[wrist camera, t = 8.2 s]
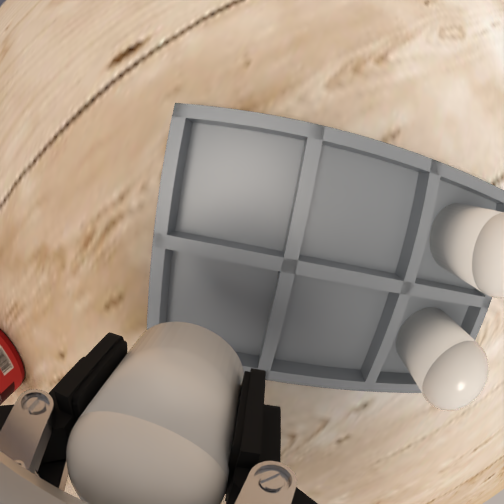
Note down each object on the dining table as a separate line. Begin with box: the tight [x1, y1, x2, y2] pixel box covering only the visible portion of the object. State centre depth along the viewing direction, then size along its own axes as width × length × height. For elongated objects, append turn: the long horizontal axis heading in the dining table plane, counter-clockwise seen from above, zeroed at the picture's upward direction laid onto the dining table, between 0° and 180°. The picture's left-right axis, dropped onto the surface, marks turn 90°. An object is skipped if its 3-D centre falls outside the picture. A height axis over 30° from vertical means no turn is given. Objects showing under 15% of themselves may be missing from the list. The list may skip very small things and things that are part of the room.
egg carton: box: [147, 103, 504, 393], centre depth 17 cm, size 16×23×2 cm
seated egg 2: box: [396, 307, 489, 411], centre depth 15 cm, size 5×5×7 cm
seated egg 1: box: [429, 203, 504, 298], centre depth 13 cm, size 5×5×7 cm
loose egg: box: [66, 322, 244, 504], centre depth 8 cm, size 5×5×7 cm
